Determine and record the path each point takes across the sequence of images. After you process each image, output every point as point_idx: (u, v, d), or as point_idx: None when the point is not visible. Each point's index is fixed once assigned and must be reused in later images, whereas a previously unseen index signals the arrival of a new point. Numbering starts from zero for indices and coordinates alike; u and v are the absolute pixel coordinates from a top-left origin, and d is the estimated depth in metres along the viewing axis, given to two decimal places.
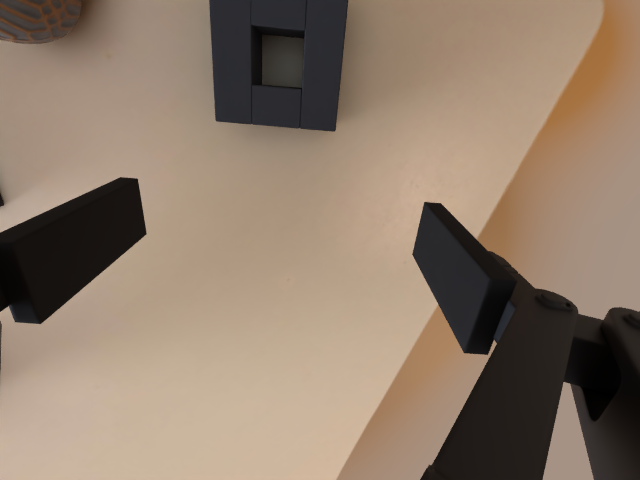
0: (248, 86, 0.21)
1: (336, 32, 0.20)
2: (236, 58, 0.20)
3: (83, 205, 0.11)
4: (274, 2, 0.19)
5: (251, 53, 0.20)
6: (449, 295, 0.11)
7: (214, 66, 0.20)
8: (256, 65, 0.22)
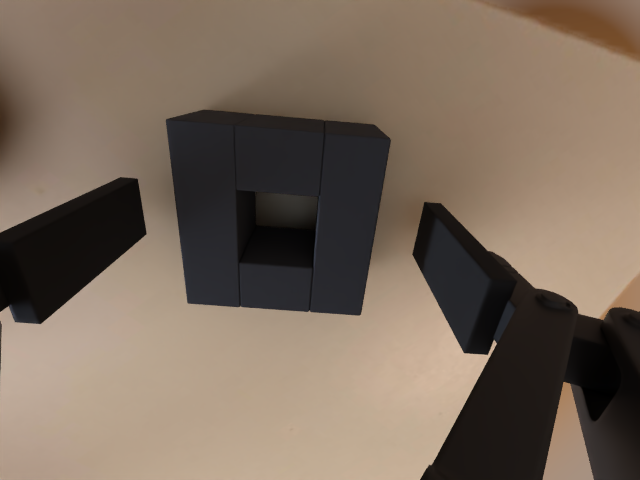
0: (233, 264, 0.14)
1: (367, 199, 0.13)
2: (214, 231, 0.13)
3: (83, 205, 0.11)
4: (271, 161, 0.12)
5: (237, 223, 0.13)
6: (449, 296, 0.12)
7: (182, 241, 0.14)
8: (246, 221, 0.15)
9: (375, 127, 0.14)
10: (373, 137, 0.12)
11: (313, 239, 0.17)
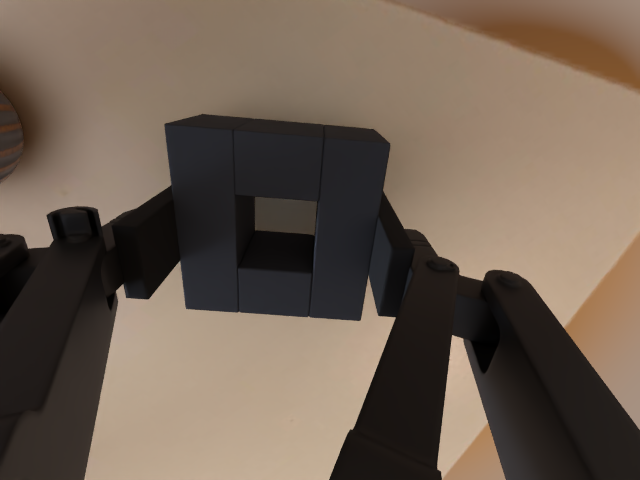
0: (232, 270, 0.14)
1: (367, 204, 0.13)
2: (213, 236, 0.13)
3: None
4: (270, 166, 0.12)
5: (236, 228, 0.13)
6: (374, 268, 0.13)
7: (180, 245, 0.13)
8: (245, 225, 0.15)
9: (375, 132, 0.14)
10: (373, 142, 0.12)
11: (312, 244, 0.17)
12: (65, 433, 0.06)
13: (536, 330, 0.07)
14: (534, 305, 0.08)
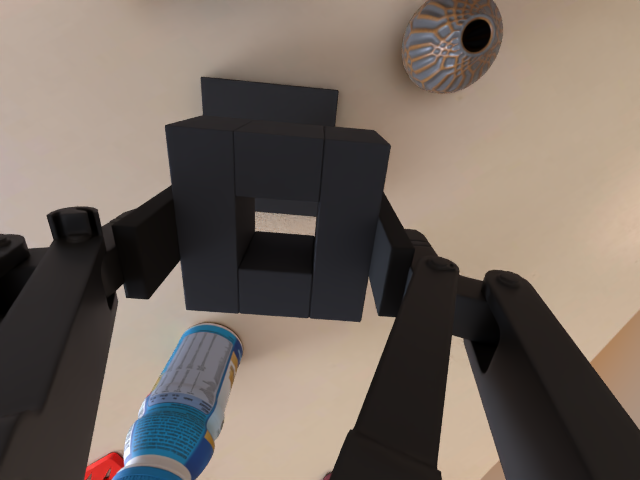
0: (232, 271, 0.14)
1: (367, 205, 0.13)
2: (213, 237, 0.13)
3: None
4: (271, 168, 0.12)
5: (236, 229, 0.13)
6: (374, 268, 0.13)
7: (181, 247, 0.13)
8: (245, 226, 0.15)
9: (375, 133, 0.14)
10: (373, 143, 0.12)
11: (313, 245, 0.17)
12: (65, 433, 0.06)
13: (536, 330, 0.07)
14: (534, 305, 0.08)
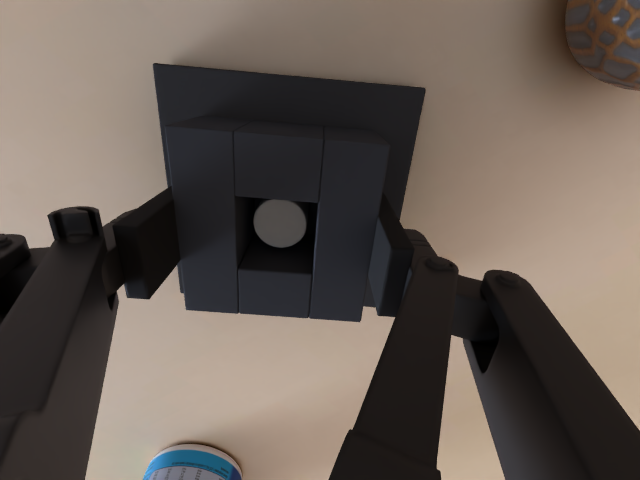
0: (232, 271, 0.14)
1: (366, 206, 0.13)
2: (213, 237, 0.13)
3: None
4: (270, 168, 0.12)
5: (236, 229, 0.13)
6: (373, 268, 0.13)
7: (180, 247, 0.13)
8: (245, 226, 0.15)
9: (374, 133, 0.14)
10: (372, 143, 0.12)
11: (312, 245, 0.17)
12: (66, 432, 0.06)
13: (535, 330, 0.07)
14: (533, 305, 0.08)
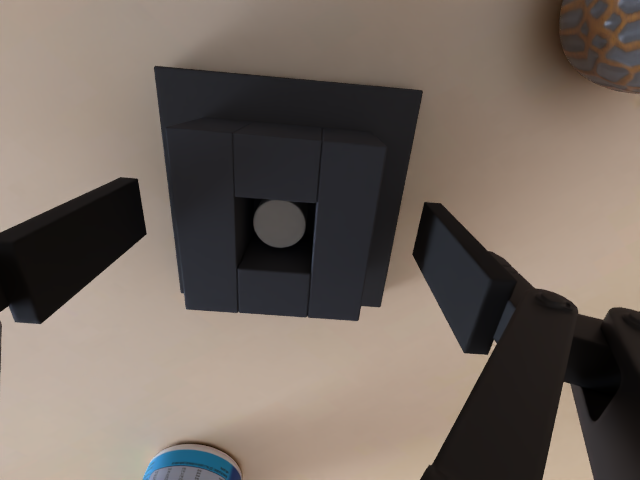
0: (231, 270, 0.14)
1: (364, 206, 0.13)
2: (212, 237, 0.13)
3: (83, 205, 0.11)
4: (269, 169, 0.12)
5: (236, 229, 0.13)
6: (449, 295, 0.12)
7: (181, 247, 0.14)
8: (245, 227, 0.15)
9: (372, 134, 0.14)
10: (369, 145, 0.12)
11: (311, 245, 0.17)
12: None
13: None
14: None
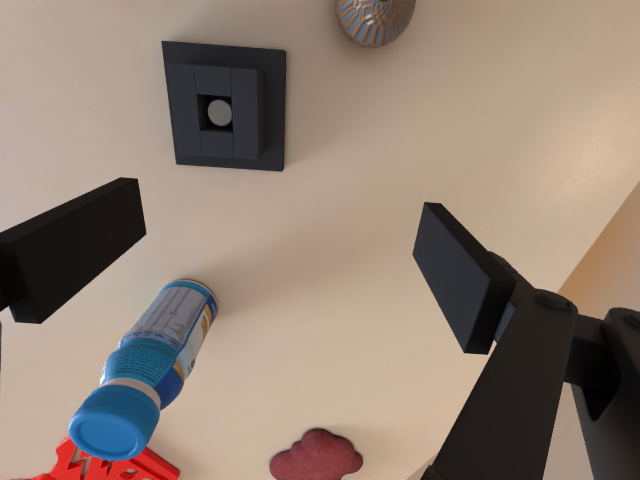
0: (197, 131, 0.32)
1: (251, 97, 0.30)
2: (188, 114, 0.31)
3: (83, 205, 0.11)
4: (210, 80, 0.30)
5: (198, 110, 0.31)
6: (449, 296, 0.12)
7: (174, 119, 0.31)
8: (204, 115, 0.33)
9: (260, 70, 0.32)
10: None
11: None
12: None
13: None
14: None
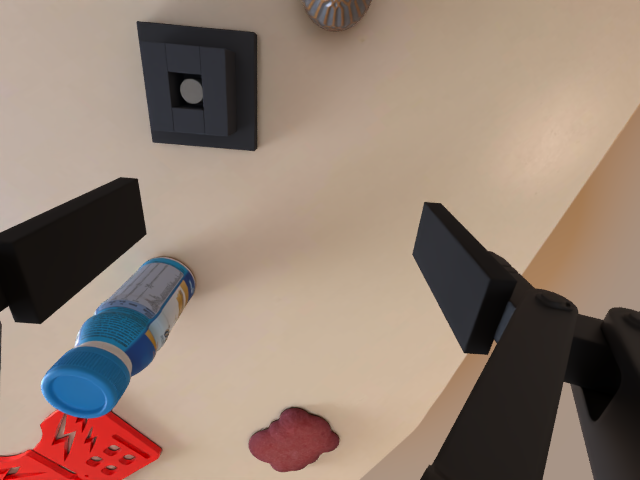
0: (169, 108, 0.33)
1: (220, 75, 0.32)
2: (160, 91, 0.32)
3: (83, 205, 0.11)
4: (180, 58, 0.31)
5: (170, 88, 0.32)
6: (449, 296, 0.12)
7: (147, 96, 0.33)
8: (177, 94, 0.34)
9: (231, 51, 0.33)
10: (218, 48, 0.31)
11: None
12: None
13: None
14: None
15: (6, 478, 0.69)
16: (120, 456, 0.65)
